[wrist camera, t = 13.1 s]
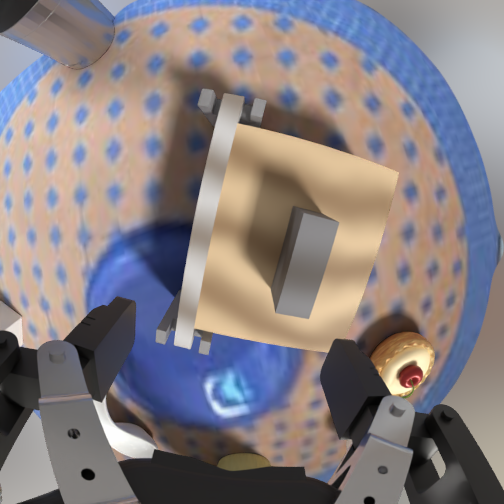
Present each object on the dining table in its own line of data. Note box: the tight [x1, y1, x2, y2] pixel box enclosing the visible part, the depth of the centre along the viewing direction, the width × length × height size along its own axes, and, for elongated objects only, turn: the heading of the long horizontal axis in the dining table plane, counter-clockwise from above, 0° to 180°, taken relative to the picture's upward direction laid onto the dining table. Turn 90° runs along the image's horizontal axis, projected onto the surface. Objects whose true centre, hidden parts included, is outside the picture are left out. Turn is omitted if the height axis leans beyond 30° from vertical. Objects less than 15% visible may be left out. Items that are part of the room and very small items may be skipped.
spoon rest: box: [93, 396, 158, 458], centre depth 41 cm, size 24×12×7 cm, turn 6°
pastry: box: [370, 332, 435, 398], centre depth 37 cm, size 12×12×9 cm
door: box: [174, 93, 399, 352], centre depth 24 cm, size 25×18×6 cm
